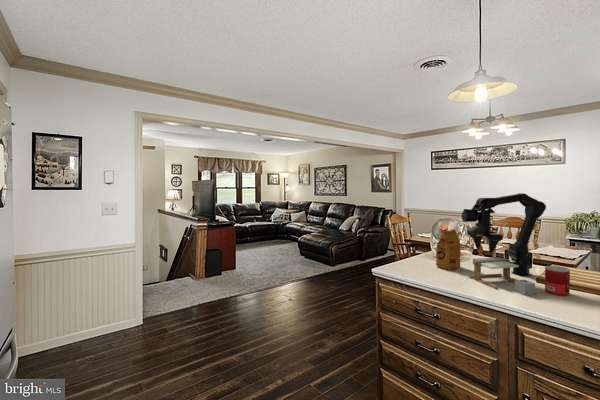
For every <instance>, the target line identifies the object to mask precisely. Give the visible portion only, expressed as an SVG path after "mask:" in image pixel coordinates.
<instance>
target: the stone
mask: <svg viewBox="0 0 600 400" xmlns="http://www.w3.org/2000/svg"><path fill="white" fill-rule="evenodd" d="M514 292H515V293H517V294H520V295H522V296H534V295H536V283H535V282H532V281H530V280H526V279H517V280H515V282H514Z"/></svg>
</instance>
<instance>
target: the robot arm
mask: <svg viewBox="0 0 600 400" xmlns="http://www.w3.org/2000/svg"><path fill="white" fill-rule="evenodd" d="M518 202H519V204H520V205H521V206H523V207H524V215H525V216H524V220H523V222H522V225H521V227H520V230H519V233H518V235H517V238H516V241H515V242H514V243H509V245H508V246H509V247H508V248H507V250H506V251H507V254H508V256H509V258H511V261H513V264H515V265H519V267H514V268H512V271H510V274H514V275H517V276H520V277H527V276H533V274H532V273H530V266H531V265H532V264H533V261H534V260H533V259H532V258H530V256H528V255H529V247H528V244H529V242H530V240H531V239H530V238H531V237H532V234H533V232H534V228H535V226H536V222H537V220H538V219H539V218H540V217H541V216H542V215H544V212H545V211H546V209H547V205H546V203H545V202H543V201H541V200H538V199H536V198H534V197H532V196H530V195H528V194H527V193H521V192H520V193H519V192H518V193H516V194H509V195H504V196H497V197H479V198H477V200H476V202H475V204H474V205H473V206H472V207H471V208H469V209H467V208H463V211H462V213H461V220H462V222H464V223H469V222H471V223H475V225H474V226H472V227H470V228H467V229H466V231H467V232H466V233H467V234H466V235H468V237H470V238H471V239H472V241H473V242H474V245H475V248H476V249H477V250H480V247H481V242H482V239H483V237H486V241H487V243H488V250H489V251H488V252H489V253H493V252H494V250H495V248H496V247H497V245H498V244H499V242H501V241H503V240H504V239H503V238H504V236H503V234H501V233H496V232H495V233H494V232H493V231H491V227H492V226H493V223H491V221H492V220H491V219H492V218H491V214H495V213H496V211H495V210H493V208H495V207H497V206H499V205H505V204H512V203H518Z"/></svg>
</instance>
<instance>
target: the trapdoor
mask: <svg viewBox="0 0 600 400" xmlns="http://www.w3.org/2000/svg"><path fill="white" fill-rule="evenodd" d="M505 259H506V258H503V257H497V256H496V257H495V256H494V257H480V258H479V257H477V258H472V265H474V261H479V262H481V267H484V268H488V269H491V270H497V269H503V268H510V269H511V268H512V269H513V268H514V267H519V265H515V264H514V263H513V262H512V263H511V262H510V263H509V262H506V261H505Z"/></svg>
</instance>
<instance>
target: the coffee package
mask: <svg viewBox="0 0 600 400" xmlns="http://www.w3.org/2000/svg"><path fill="white" fill-rule="evenodd" d="M440 233H441V236H440V239H439V240H438V241H437V243H436V247H435V253H436V254H435V255H436V256H435V257H436V258H435V266H436V267H437V266H438V267H437V268H440V267H441V268H440V269H443V270H446V269H448V270H447V271H449V270H451V269H454V270H456V269H458V268H461V242H460V241H461V240H460V237H459V236H458V233H457V232H456V229H455V228H452V229H451V230H446V229H445V230H440Z"/></svg>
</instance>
